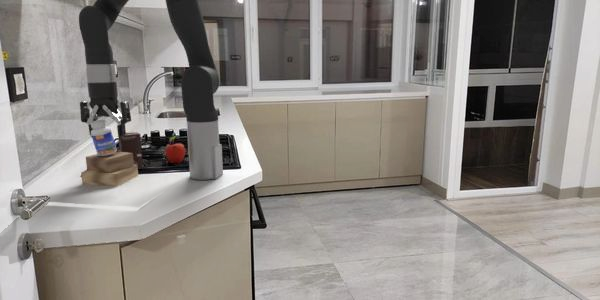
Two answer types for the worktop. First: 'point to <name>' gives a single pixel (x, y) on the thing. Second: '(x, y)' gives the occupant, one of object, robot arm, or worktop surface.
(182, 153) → the apple
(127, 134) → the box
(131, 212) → the worktop surface
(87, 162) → the walnut slab
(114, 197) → the worktop surface
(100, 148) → the pill bottle
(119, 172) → the oak slab
